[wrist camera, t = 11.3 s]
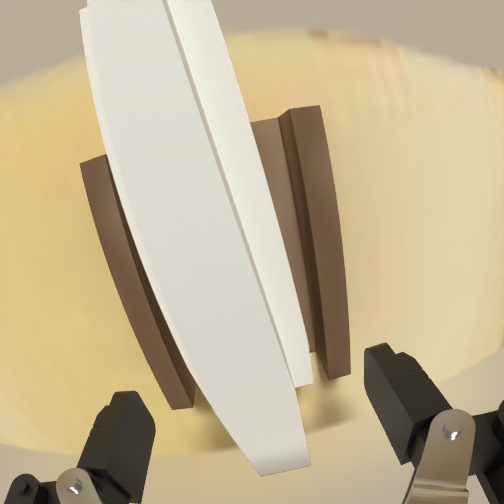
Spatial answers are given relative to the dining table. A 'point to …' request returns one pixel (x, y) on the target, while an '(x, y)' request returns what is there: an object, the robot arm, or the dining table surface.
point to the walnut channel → (293, 234)
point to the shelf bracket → (202, 215)
